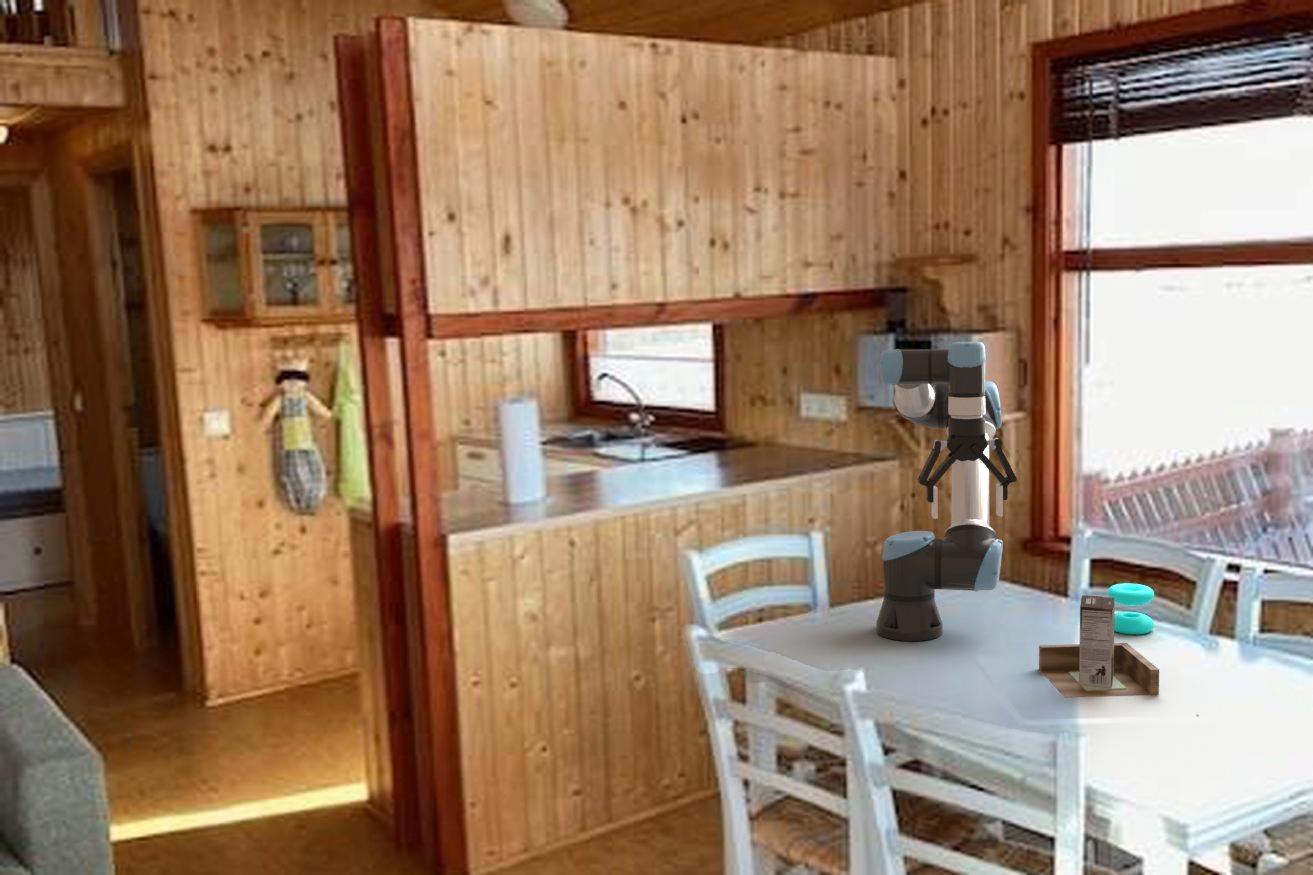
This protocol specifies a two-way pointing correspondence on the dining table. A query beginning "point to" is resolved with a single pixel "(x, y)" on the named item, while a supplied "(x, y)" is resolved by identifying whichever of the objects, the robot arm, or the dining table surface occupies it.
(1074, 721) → the dining table surface
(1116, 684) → the pad
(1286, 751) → the dining table surface
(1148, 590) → the donuts
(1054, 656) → the wooden corner tray
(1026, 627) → the dining table surface
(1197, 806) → the dining table surface
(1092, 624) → the coffee box
